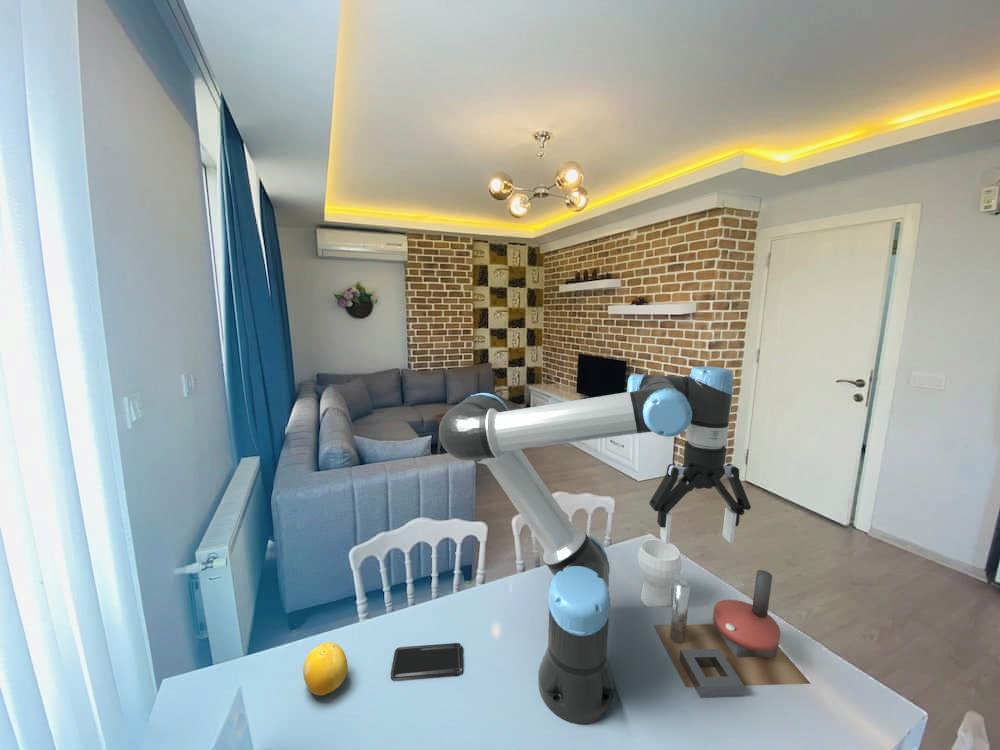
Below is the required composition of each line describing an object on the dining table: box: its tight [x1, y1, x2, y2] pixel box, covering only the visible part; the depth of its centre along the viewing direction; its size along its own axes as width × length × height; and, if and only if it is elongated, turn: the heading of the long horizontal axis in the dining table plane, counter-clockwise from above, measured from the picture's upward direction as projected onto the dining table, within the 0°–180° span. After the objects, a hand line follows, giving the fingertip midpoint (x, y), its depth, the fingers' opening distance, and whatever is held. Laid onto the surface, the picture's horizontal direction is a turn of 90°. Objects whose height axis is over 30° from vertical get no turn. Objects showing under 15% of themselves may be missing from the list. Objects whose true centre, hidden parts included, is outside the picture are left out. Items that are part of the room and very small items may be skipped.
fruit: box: [302, 641, 349, 696], centre depth 82 cm, size 9×8×8 cm
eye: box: [679, 649, 745, 698], centre depth 83 cm, size 9×9×2 cm
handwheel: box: [712, 569, 781, 652], centre depth 91 cm, size 13×13×12 cm
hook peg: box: [670, 571, 691, 644], centre depth 93 cm, size 3×5×15 cm, turn 2°
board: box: [653, 623, 811, 688], centre depth 90 cm, size 26×16×4 cm, turn 92°
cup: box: [637, 538, 683, 608], centre depth 106 cm, size 11×11×15 cm
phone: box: [390, 642, 463, 682], centre depth 88 cm, size 8×1×15 cm
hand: (696, 540), depth 85 cm, fingers open, 13 cm apart
